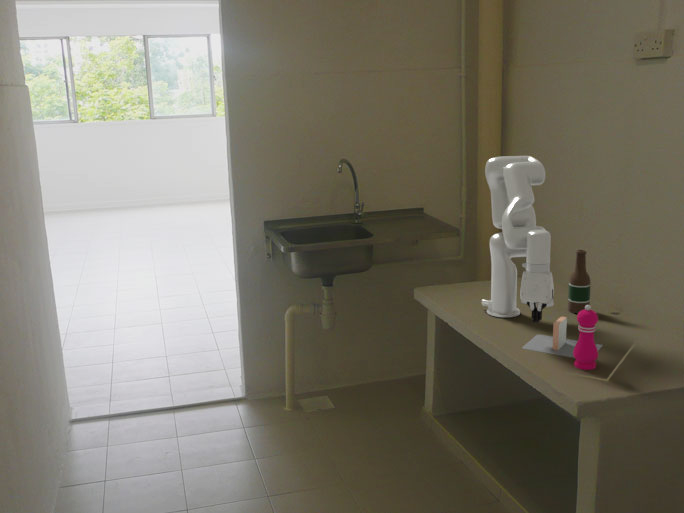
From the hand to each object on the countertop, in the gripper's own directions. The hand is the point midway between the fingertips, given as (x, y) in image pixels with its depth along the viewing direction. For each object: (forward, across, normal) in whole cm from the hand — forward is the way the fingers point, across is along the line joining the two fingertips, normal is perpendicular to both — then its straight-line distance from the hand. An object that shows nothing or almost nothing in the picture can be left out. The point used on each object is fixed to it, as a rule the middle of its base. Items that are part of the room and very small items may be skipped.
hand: (536, 321), depth 231 cm
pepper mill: (+9, +20, -12) cm, 25 cm away
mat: (+8, +9, 0) cm, 12 cm away
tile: (+8, +8, 0) cm, 11 cm away
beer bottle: (+8, +2, +44) cm, 44 cm away
